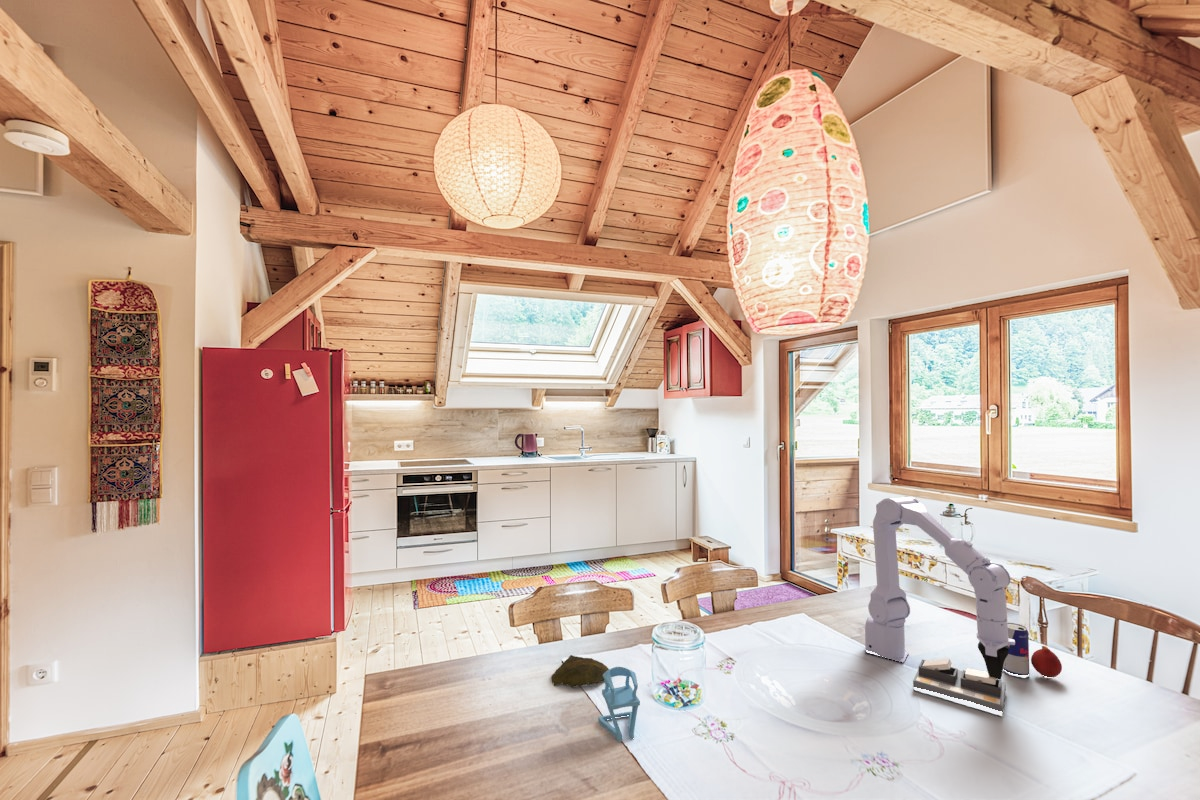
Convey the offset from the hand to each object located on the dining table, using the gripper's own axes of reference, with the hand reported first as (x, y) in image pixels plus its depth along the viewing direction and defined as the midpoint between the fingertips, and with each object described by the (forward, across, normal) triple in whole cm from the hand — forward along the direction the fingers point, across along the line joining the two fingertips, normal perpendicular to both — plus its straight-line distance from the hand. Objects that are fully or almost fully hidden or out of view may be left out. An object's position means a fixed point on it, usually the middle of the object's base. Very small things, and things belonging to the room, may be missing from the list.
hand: (995, 677), depth 119 cm
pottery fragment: (+4, -52, +82) cm, 98 cm away
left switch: (+1, 0, +11) cm, 11 cm away
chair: (+5, -64, +60) cm, 88 cm away
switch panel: (+6, 0, +7) cm, 9 cm away
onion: (+6, +22, -9) cm, 25 cm away
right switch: (+1, 0, +3) cm, 3 cm away
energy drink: (+6, +20, -3) cm, 21 cm away
